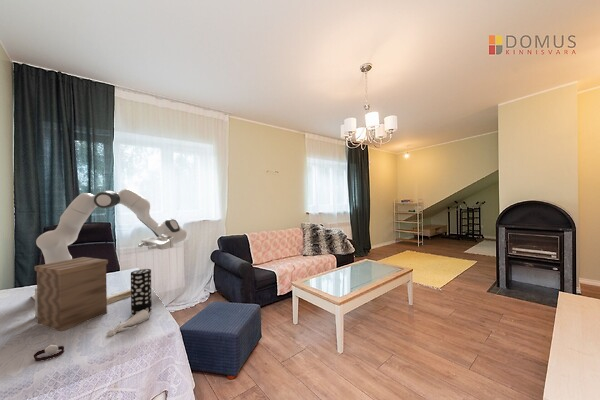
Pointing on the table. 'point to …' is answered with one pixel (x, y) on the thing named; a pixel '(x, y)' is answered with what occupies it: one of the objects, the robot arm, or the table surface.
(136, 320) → the woman figurine
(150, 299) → the white-spotted black cylinder
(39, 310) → the stand
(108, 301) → the rod
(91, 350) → the table surface
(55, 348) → the watch
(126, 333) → the table surface
